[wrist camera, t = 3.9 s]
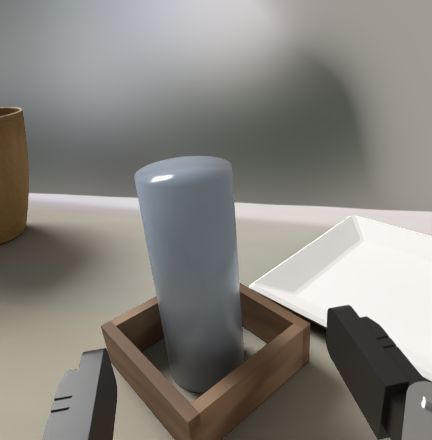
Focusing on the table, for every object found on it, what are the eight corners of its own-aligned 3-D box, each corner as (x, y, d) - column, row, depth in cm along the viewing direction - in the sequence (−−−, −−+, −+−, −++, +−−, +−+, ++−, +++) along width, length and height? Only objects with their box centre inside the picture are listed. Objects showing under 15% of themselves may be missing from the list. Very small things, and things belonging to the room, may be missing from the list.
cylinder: (201, 408, 24) (170, 196, 18) (155, 361, 28) (116, 173, 22) (260, 361, 28) (252, 166, 21) (211, 324, 31) (192, 151, 25)
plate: (350, 228, 45) (351, 212, 44) (548, 287, 33) (555, 267, 32) (248, 303, 34) (247, 284, 33) (490, 436, 22) (499, 412, 21)
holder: (194, 463, 21) (187, 422, 20) (110, 361, 29) (100, 326, 27) (308, 360, 27) (310, 323, 26) (214, 298, 35) (211, 266, 33)
